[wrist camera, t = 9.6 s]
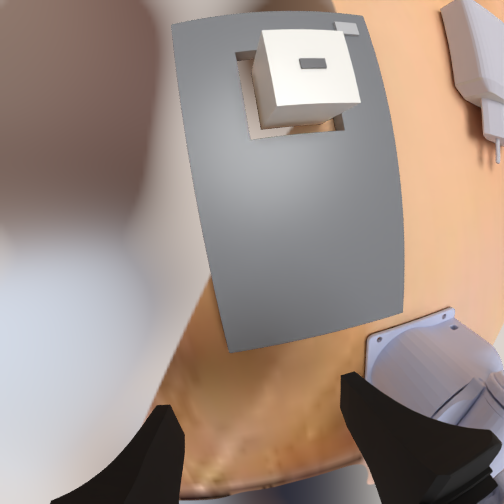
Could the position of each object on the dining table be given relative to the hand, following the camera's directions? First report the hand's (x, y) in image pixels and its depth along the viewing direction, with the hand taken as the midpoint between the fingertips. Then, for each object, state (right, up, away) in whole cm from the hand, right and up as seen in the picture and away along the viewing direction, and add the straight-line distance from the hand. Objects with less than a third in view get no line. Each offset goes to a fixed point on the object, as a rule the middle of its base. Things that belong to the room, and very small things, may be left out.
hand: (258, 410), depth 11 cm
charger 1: (+2, +16, +6) cm, 17 cm away
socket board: (+3, +12, +7) cm, 14 cm away
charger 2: (+21, +22, +7) cm, 31 cm away
